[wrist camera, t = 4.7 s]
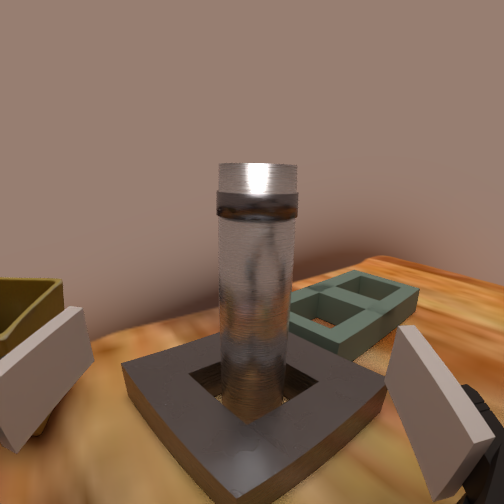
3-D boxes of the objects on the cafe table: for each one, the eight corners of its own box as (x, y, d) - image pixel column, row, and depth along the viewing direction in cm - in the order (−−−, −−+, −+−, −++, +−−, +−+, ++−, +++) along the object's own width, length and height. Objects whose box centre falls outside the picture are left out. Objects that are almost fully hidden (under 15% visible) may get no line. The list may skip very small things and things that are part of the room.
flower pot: (56, 464, 13) (0, 338, 11) (-38, 435, 12) (-91, 321, 9) (88, 384, 21) (64, 277, 19) (6, 372, 20) (-22, 276, 18)
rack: (415, 310, 36) (419, 288, 35) (333, 374, 24) (339, 343, 24) (351, 290, 43) (354, 269, 42) (254, 331, 32) (254, 304, 31)
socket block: (380, 411, 19) (390, 379, 19) (237, 524, 11) (236, 498, 10) (259, 346, 29) (260, 317, 28) (128, 395, 21) (120, 363, 20)
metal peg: (295, 414, 20) (315, 166, 16) (248, 442, 17) (253, 162, 13) (255, 387, 23) (261, 165, 19) (209, 408, 20) (201, 164, 16)
